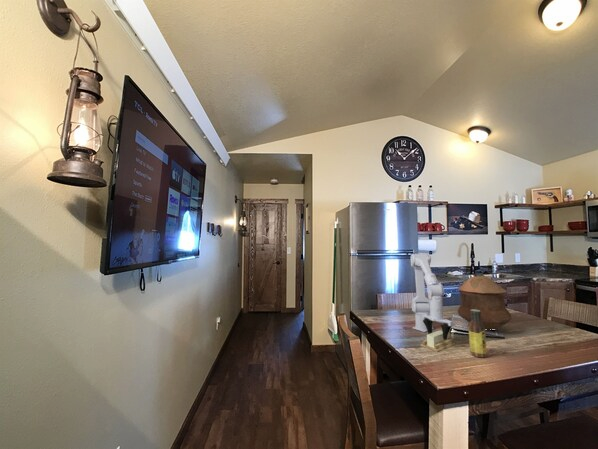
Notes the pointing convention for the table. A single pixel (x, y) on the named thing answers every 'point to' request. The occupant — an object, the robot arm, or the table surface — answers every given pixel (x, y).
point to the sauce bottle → (477, 335)
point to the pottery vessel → (484, 302)
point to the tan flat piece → (439, 345)
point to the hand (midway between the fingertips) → (437, 336)
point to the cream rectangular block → (435, 338)
